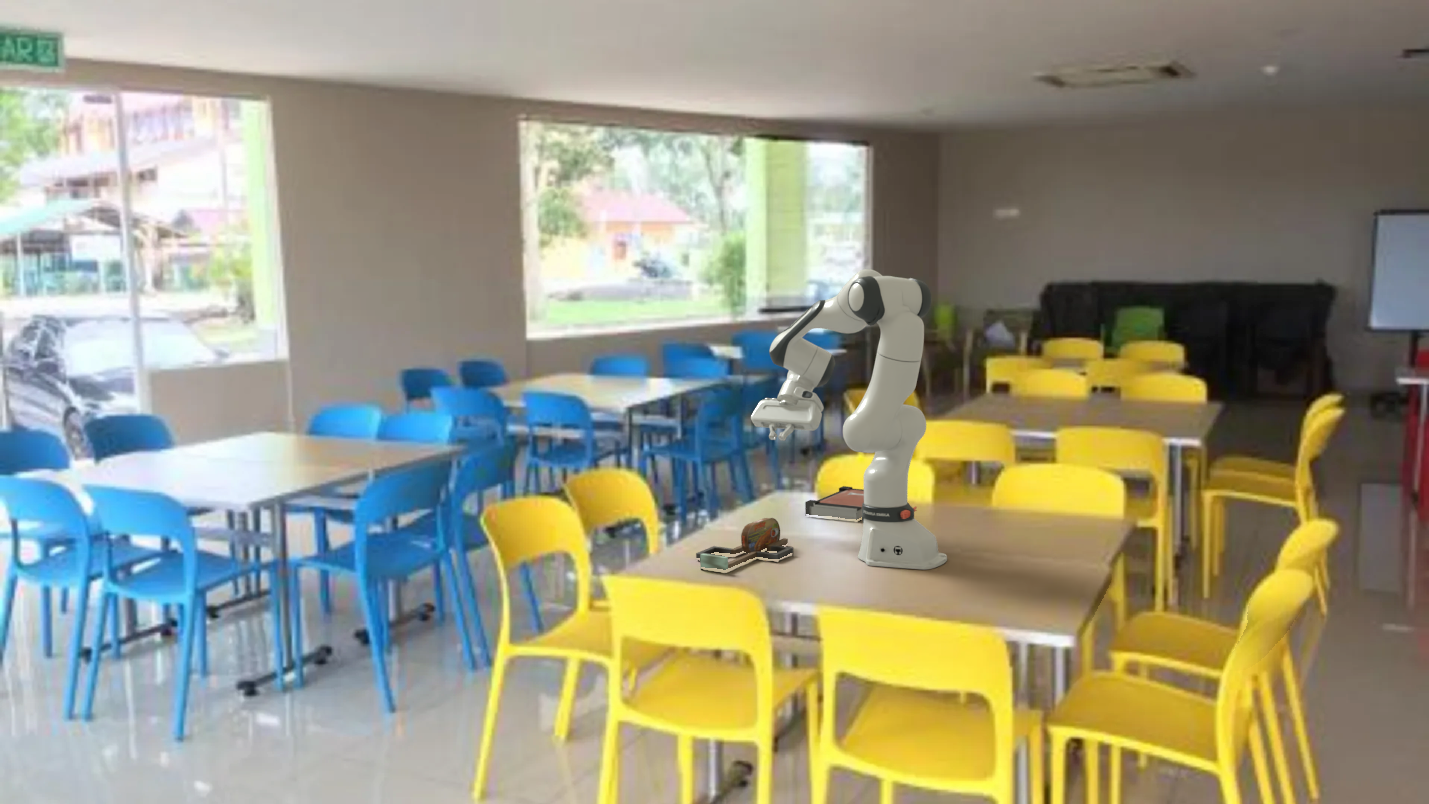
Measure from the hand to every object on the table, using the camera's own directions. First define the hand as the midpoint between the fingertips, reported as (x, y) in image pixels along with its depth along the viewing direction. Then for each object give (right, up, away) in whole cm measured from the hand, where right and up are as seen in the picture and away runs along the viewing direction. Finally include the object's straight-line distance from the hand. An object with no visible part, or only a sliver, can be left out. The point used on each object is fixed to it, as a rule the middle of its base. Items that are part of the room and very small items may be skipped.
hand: (776, 439), depth 326 cm
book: (+24, -23, +33) cm, 47 cm away
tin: (-5, -30, -12) cm, 32 cm away
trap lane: (-9, -30, -18) cm, 36 cm away
